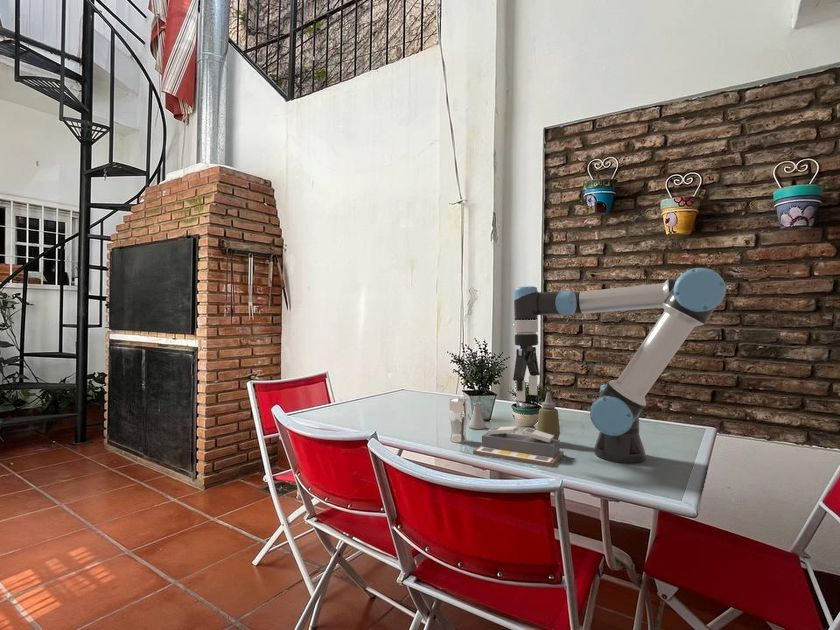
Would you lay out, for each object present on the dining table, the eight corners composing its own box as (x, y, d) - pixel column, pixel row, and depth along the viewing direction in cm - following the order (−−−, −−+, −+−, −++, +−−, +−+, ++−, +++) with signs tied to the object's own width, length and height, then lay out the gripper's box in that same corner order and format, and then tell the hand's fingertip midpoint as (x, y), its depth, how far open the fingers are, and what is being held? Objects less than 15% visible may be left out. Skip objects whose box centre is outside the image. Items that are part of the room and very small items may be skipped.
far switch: (518, 429, 155) (517, 425, 156) (513, 432, 151) (512, 429, 151) (493, 431, 160) (492, 427, 160) (488, 434, 156) (487, 430, 156)
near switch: (553, 439, 150) (554, 435, 149) (549, 442, 145) (550, 438, 145) (526, 430, 154) (527, 427, 154) (522, 434, 150) (522, 430, 150)
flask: (472, 430, 183) (472, 405, 183) (465, 426, 190) (465, 402, 190) (489, 429, 185) (489, 404, 185) (481, 425, 192) (481, 401, 192)
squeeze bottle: (563, 442, 166) (563, 392, 166) (556, 447, 159) (556, 395, 159) (541, 438, 170) (541, 390, 170) (533, 443, 164) (533, 393, 164)
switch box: (563, 454, 150) (563, 437, 150) (552, 467, 138) (552, 448, 138) (488, 443, 163) (489, 427, 163) (473, 453, 151) (473, 436, 151)
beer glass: (452, 444, 163) (452, 401, 163) (446, 439, 170) (446, 398, 170) (471, 442, 165) (471, 401, 165) (464, 437, 172) (464, 397, 172)
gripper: (526, 332, 164) (527, 391, 164) (502, 334, 143) (503, 403, 142) (547, 332, 161) (548, 393, 160) (526, 334, 139) (527, 405, 139)
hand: (527, 397), depth 151 cm, fingers open, 13 cm apart
